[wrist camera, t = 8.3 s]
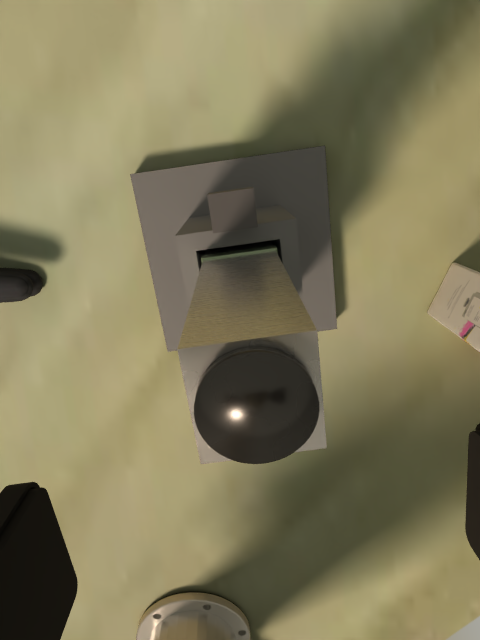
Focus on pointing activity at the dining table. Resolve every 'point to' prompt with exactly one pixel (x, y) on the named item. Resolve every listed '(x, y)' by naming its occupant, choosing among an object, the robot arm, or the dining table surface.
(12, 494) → the robot arm
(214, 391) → the column
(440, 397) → the dining table surface
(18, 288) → the can opener
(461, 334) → the ink cartridge box
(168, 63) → the dining table surface
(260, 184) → the stand
